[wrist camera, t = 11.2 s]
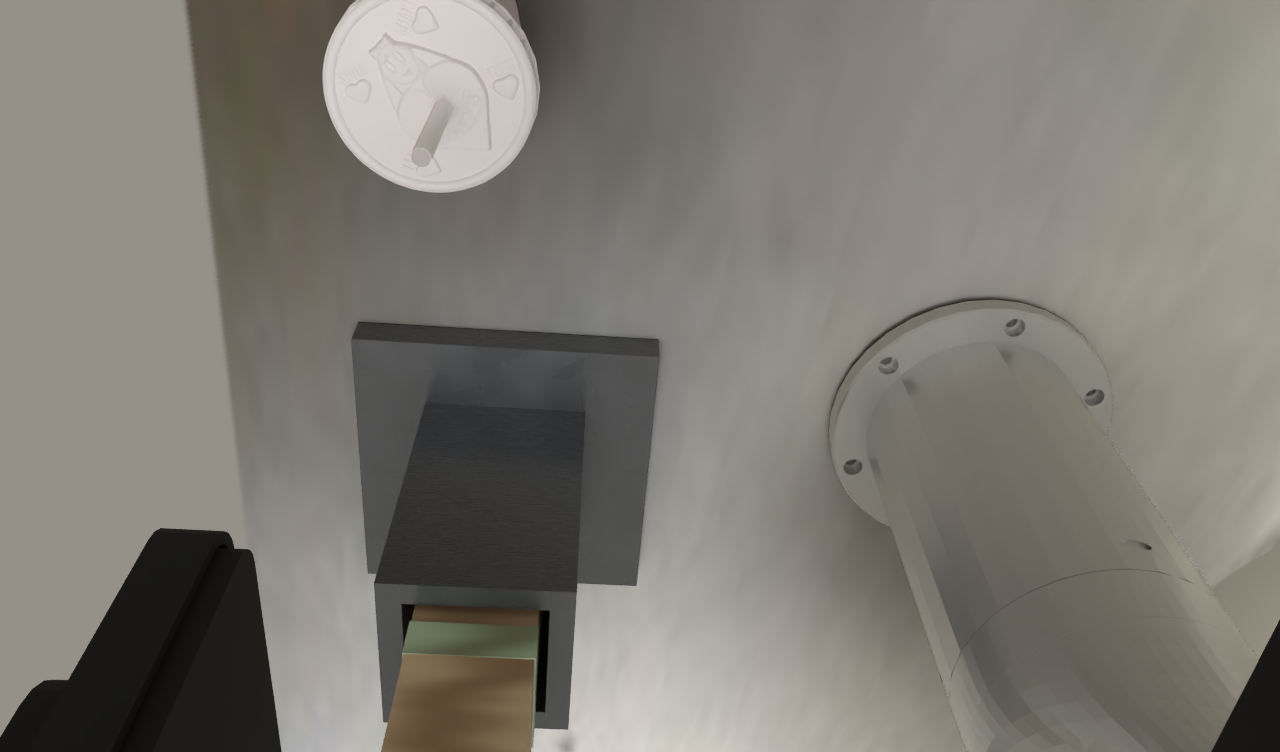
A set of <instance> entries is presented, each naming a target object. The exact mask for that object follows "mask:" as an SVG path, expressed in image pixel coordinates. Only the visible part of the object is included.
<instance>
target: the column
mask: <svg viewBox="0 0 1280 752" xmlns="http://www.w3.org/2000/svg"><path fill="white" fill-rule="evenodd" d="M542 616H543V610H527V609H505V608H483V607H461V606H439V605H417V604H415V607H414V611H413V616H412V620H411V621H409V626H408V630H407V634H406V638H405V643H404V647H403V651H402V664H401V668H400V672H399V677H398V681H397V685H396V690H395V694H394V698H393V703H392V707H391V711H390V716H389V720H388V725H387V729H386V733H385V738H384V742H383V746H382V751H381V752H531V748H533V738H534V726H535V714H536V688H537V675H538V663H539V651H540V640H541V628H542Z"/></svg>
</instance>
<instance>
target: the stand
mask: <svg viewBox="0 0 1280 752" xmlns="http://www.w3.org/2000/svg"><path fill="white" fill-rule="evenodd" d="M351 341H352V356H353V370H354V384H355V398H356V412H357V426H358V440H359V455H360V469H361V483H362V497H363V511H364V525H365V540H366V554H367V568H368V573H372V574H377V575H376V578H375V582H374V589H375V604H376V619H377V634H378V649H379V664H380V679H381V694H382V708H383V722H388V720H389V716H390V711H391V707H392V703H393V698H394V694H395V690H396V685H397V681H398V677H399V672H400V668H401V664H402V651H403V647H404V643H405V638H406V634H407V630H408V626H409V621H411V620H412V616H413V611H414V607H415V604H417V605H439V606H461V607H483V608H505V609H527V610H543V616H542V628H541V640H540V651H539V663H538V675H537V688H536V714H535V726H534V728H543V729H568V723H569V707H570V691H571V675H572V659H573V642H574V626H575V610H576V594H577V583H586V584H607V585H628V586H636V584H637V574H638V564H639V554H640V544H641V534H642V524H643V514H644V504H645V494H646V484H647V474H648V464H649V454H650V444H651V434H652V424H653V414H654V404H655V394H656V384H657V374H658V364H659V346H658V340H652V339H635V338H618V337H602V336H585V335H568V334H551V333H534V332H517V331H500V330H483V329H466V328H449V327H432V326H415V325H399V324H382V323H365V322H359V323H358V325H357V327H356V330H355V332H354V334H353V337H352V339H351Z"/></svg>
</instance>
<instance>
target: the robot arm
mask: <svg viewBox="0 0 1280 752" xmlns="http://www.w3.org/2000/svg"><path fill="white" fill-rule="evenodd" d="M1009 321H1010V322H1009ZM887 357H888V358H887ZM885 358H887V359H885ZM883 359H884V360H883ZM1111 419H1112V392H1111V388H1110V383H1109V378H1108V375H1107V373H1106V371H1105V369H1104V367H1103V365H1102V363H1101V361H1100V359H1099V357H1098V355H1097V354H1096V352H1095V351H1094V350H1093V348H1092V347H1091V346H1090V344H1089V343H1088V342H1087V340H1086V339H1085V338H1084V337H1083V336H1082V335H1081V334H1080V333H1079V332H1078V331H1076V330H1075V329H1074V328H1073V327H1072V326H1071V325H1070V324H1069V323H1068V322H1066V321H1064V320H1062V319H1061V318H1059V317H1057V316H1055V315H1053V314H1052V313H1050V312H1048V311H1046V310H1043V309H1040V308H1037V307H1033V306H1030V305H1027V304H1024V303H1019V302H1010V301H1002V300H981V301H966V302H961V303H957V304H952V305H948V306H943V307H939V308H936V309H934V310H931V311H929V312H926V313H924V314H921V315H919V316H916V317H914V318H911V319H910V320H908V321H906V322H905V323H903V324H901V325H900V326H898V327H896V328H895V329H893V330H891V331H890V332H888V333H887V334H885V335H884V336H883V337H882V338H881V339H879V340H878V341H877V342H876V343H875V344H874V345H872V346H871V347H870V348H869V349H868V350H867V351H866V352H865V353H864V354H863V355H862V356H861V358H860V359H859V360H858V361H857V362H856V364H855V365H854V366H853V367H852V368H851V369H850V371H849V373H848V374H847V376H846V378H845V380H844V381H843V383H842V385H841V387H840V388H839V390H838V393H837V396H836V399H835V402H834V405H833V408H832V411H831V415H830V425H829V442H830V449H831V456H832V460H833V463H834V467H835V470H836V473H837V476H838V478H839V479H840V481H841V483H842V485H843V487H844V489H845V491H846V492H847V494H848V495H849V496H850V497H851V499H852V500H853V501H854V502H855V503H856V504H857V505H858V506H859V508H860V509H861V510H863V511H864V512H865V513H867V514H868V515H870V516H871V517H872V518H874V519H875V520H876V521H878V522H880V523H882V524H884V525H886V526H888V527H890V528H891V530H892V533H893V536H894V539H895V542H896V545H897V548H898V551H899V554H900V557H901V560H902V563H903V566H904V569H905V572H906V575H907V578H908V581H909V584H910V587H911V590H912V593H913V596H914V599H915V602H916V605H917V608H918V611H919V614H920V617H921V620H922V623H923V626H924V629H925V632H926V635H927V638H928V641H929V644H930V647H931V650H932V653H933V656H934V659H935V662H936V665H937V668H938V671H939V674H940V677H941V680H942V682H943V685H944V689H945V692H946V695H947V698H948V701H949V704H950V706H951V709H952V712H953V715H954V718H955V721H956V723H957V726H958V729H959V732H960V735H961V738H962V741H963V743H964V746H965V748H966V750H967V752H1280V620H1279V622H1278V624H1277V626H1276V628H1275V630H1274V632H1273V634H1272V636H1271V638H1270V640H1269V642H1268V644H1267V645H1266V647H1265V649H1264V651H1263V653H1262V655H1261V657H1260V659H1258V658H1257V657H1256V655H1255V654H1254V652H1253V651H1252V649H1251V648H1250V646H1249V645H1248V643H1247V642H1246V641H1245V639H1244V638H1243V636H1242V635H1241V633H1240V632H1239V630H1238V629H1237V627H1236V626H1235V624H1234V623H1233V622H1232V620H1231V619H1230V617H1229V615H1228V614H1227V613H1226V611H1225V609H1224V608H1223V606H1222V605H1221V603H1220V602H1219V600H1218V599H1217V597H1216V596H1215V595H1214V593H1213V592H1212V590H1211V589H1210V587H1209V586H1208V584H1207V583H1206V581H1205V580H1204V578H1203V577H1202V575H1201V574H1200V572H1199V571H1198V569H1197V568H1196V567H1195V565H1194V564H1193V562H1192V561H1191V559H1190V558H1189V556H1188V555H1187V553H1186V552H1185V550H1184V549H1183V547H1182V546H1181V544H1180V543H1179V541H1178V540H1177V538H1176V537H1175V536H1174V534H1173V533H1172V531H1171V530H1170V528H1169V527H1168V525H1167V524H1166V522H1165V521H1164V519H1163V518H1162V516H1161V515H1160V513H1159V512H1158V510H1157V509H1156V507H1155V506H1154V505H1153V503H1152V502H1151V500H1150V499H1149V497H1148V496H1147V494H1146V493H1145V491H1144V490H1143V488H1142V487H1141V485H1140V484H1139V482H1138V481H1137V479H1136V478H1135V476H1134V475H1133V474H1132V472H1131V471H1130V469H1129V468H1128V466H1127V465H1126V463H1125V462H1124V460H1123V459H1122V457H1121V456H1120V454H1119V453H1118V451H1117V450H1116V448H1115V447H1114V445H1113V444H1112V443H1111V441H1110V440H1109V438H1108V437H1107V435H1108V431H1109V427H1110V423H1111ZM0 752H281V745H280V738H279V731H278V724H277V717H276V710H275V702H274V695H273V688H272V681H271V674H270V667H269V660H268V653H267V646H266V639H265V632H264V625H263V618H262V610H261V603H260V596H259V589H258V582H257V575H256V568H255V561H254V557H253V554H252V552H251V551H250V550H248V549H234V545H233V541H232V538H231V536H230V535H229V533H227V532H224V531H206V530H186V529H165V528H160V529H159V530H157V531H155V532H154V533H153V535H152V536H151V537H150V538H149V540H148V542H147V543H146V545H145V547H144V549H143V550H142V552H141V554H140V556H139V557H138V559H137V561H136V563H135V564H134V566H133V568H132V570H131V571H130V573H129V575H128V577H127V578H126V580H125V582H124V584H123V586H122V587H121V589H120V591H119V592H118V594H117V596H116V598H115V599H114V601H113V603H112V605H111V607H110V608H109V610H108V612H107V613H106V615H105V617H104V619H103V620H102V622H101V624H100V626H99V627H98V629H97V631H96V633H95V634H94V636H93V638H92V639H91V641H90V643H89V645H88V646H87V648H86V650H85V652H84V654H83V655H82V657H81V659H80V661H79V662H78V664H77V666H76V667H75V669H74V671H73V673H72V674H71V676H70V678H69V680H46V681H43V682H42V683H40V684H39V685H37V686H36V687H35V688H33V689H32V690H31V691H30V693H29V694H28V695H27V696H26V698H25V699H24V700H23V702H22V703H21V704H20V706H19V707H18V709H17V711H16V712H15V714H14V716H13V717H12V719H11V721H10V722H9V724H8V725H7V727H6V729H5V730H4V732H3V734H2V735H1V737H0Z"/></svg>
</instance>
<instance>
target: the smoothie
mask: <svg viewBox="0 0 1280 752" xmlns="http://www.w3.org/2000/svg"><path fill="white" fill-rule="evenodd" d="M323 91H324V96H325V102H326V105H327V109H328V112H329V115H330V117H331V120H332V122H333V124H334V126H335V128H336V130H337V132H338V134H339V135H340V137H341V138H342V140H343V141H344V143H345V144H346V145H347V147H348V148H349V149H350V150H351V151H352V153H353V154H354V155H355V156H356V157H357V158H358V159H359V160H360V161H361V162H362V163H363V164H365V165H366V166H367V167H368V168H370V169H371V170H372V171H374V172H375V173H377V174H378V175H380V176H382V177H384V178H385V179H387V180H389V181H391V182H394V183H396V184H398V185H401V186H404V187H407V188H410V189H414V190H419V191H425V192H437V193H440V192H454V191H460V190H465V189H468V188H471V187H475V186H477V185H479V184H482V183H484V182H486V181H488V180H490V179H491V178H493V177H495V176H496V175H497V174H499V173H500V172H501V171H503V170H504V169H505V168H506V167H507V166H508V165H509V164H510V163H511V162H512V161H513V160H514V159H515V157H516V156H517V155H518V153H519V152H520V151H521V149H522V147H523V146H524V144H525V142H526V140H527V138H528V136H529V133H530V131H531V128H532V125H533V123H534V120H535V118H536V115H537V112H538V102H539V93H540V82H539V76H538V69H537V63H536V58H535V56H534V54H533V51H532V49H531V47H530V44H529V42H528V40H527V37H526V35H525V33H524V31H523V30H522V29H521V26H520V20H519V14H518V8H517V4H516V1H515V0H356V1H355V2H354V3H352V4H351V5H350V6H349V8H348V9H347V11H346V12H345V14H344V15H343V17H342V18H341V20H340V22H339V23H338V25H337V26H336V28H335V30H334V33H333V35H332V37H331V39H330V41H329V44H328V47H327V50H326V54H325V59H324V65H323Z"/></svg>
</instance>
